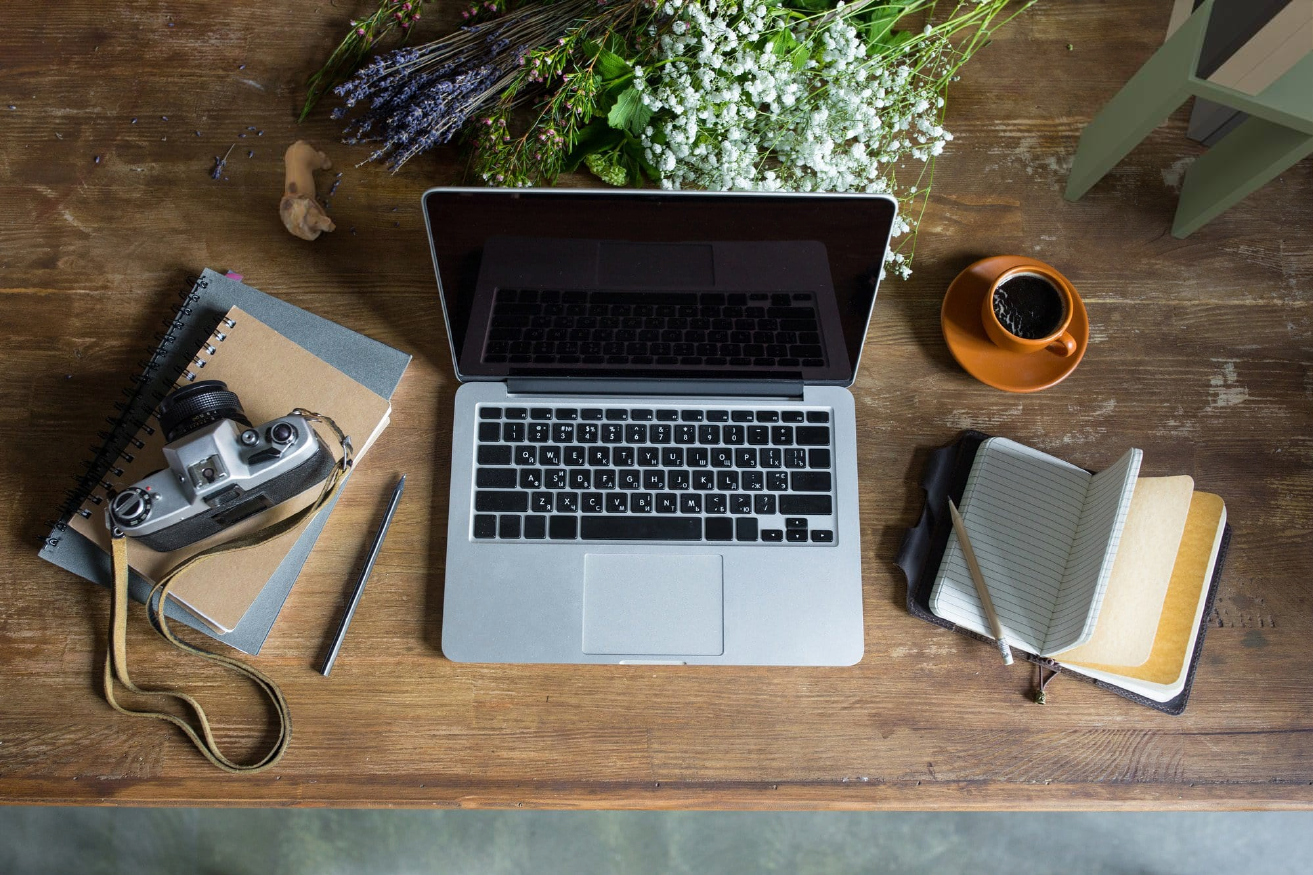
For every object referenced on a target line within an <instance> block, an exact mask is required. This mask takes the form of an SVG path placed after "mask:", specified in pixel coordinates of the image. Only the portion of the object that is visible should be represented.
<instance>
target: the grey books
mask: <svg viewBox="0 0 1313 875" xmlns="http://www.w3.org/2000/svg"><path fill="white" fill-rule="evenodd" d="M1251 115H1252V114H1249V113H1246V112H1243V111H1240V110H1237V109H1234V108H1231V107H1228V106H1225V105H1222V104H1219V103H1216V102H1213V101H1210V100H1207V99H1204V98H1202V97H1199V96H1196V95H1195V98H1194V103H1193V107H1192V111H1191V115H1190V118H1189V122H1188V127H1187V131H1186V136H1185V137H1186V138H1188V139H1191V140H1192V141H1193V140H1194V141H1197V142H1199V143H1201V145H1202V146H1204V147H1208V148H1209V149H1210V148H1211V147H1212V146H1214V145H1215V144H1216V143H1217V142H1219V141H1220V140H1221V139H1222V138H1224V137H1225V136H1226V135H1227V134H1229V133H1230V132H1231V131H1232V130H1234V129H1235V128H1236V127H1237V126H1239V125H1240V124H1241V123H1242V122H1244V121H1245V120H1246V119H1248V118H1249V117H1250V116H1251Z"/></svg>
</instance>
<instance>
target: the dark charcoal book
mask: <svg viewBox="0 0 1313 875" xmlns="http://www.w3.org/2000/svg"><path fill="white" fill-rule="evenodd" d="M1312 50H1313V0H1214V2H1213V6H1212V10H1211V14H1210V18H1209V22H1208V26H1207V30H1206V34H1205V38H1204V42H1203V46H1202V50H1201V54H1200V58H1199V62H1198V67H1197V71H1196V75H1195V77H1198V78H1201V79H1204V80H1205V79H1206V78H1207V79H1206V80H1207V81H1209V82H1212V83H1215V84H1218V85H1221V86H1224V87H1227V88H1231V89H1233V90H1236V91H1239V92H1242V93H1245V94H1248V95H1251V96H1254V97H1256V96H1257V95H1258V94H1259V93H1260V92H1262V91H1263V90H1264V89H1265V88H1266V87H1268V86H1269V85H1270V84H1271V83H1273V82H1274V81H1275V80H1276V79H1277V78H1279V77H1280V76H1281V75H1282V74H1284V73H1285V72H1286V71H1287V70H1288V69H1290V68H1291V67H1292V66H1293V65H1294V64H1296V63H1297V62H1298V61H1299V60H1301V59H1302V58H1303V57H1304V56H1305V55H1307V54H1308V53H1309V52H1310V51H1312Z"/></svg>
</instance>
